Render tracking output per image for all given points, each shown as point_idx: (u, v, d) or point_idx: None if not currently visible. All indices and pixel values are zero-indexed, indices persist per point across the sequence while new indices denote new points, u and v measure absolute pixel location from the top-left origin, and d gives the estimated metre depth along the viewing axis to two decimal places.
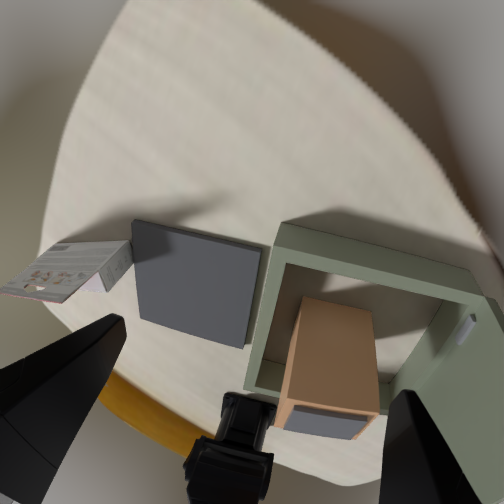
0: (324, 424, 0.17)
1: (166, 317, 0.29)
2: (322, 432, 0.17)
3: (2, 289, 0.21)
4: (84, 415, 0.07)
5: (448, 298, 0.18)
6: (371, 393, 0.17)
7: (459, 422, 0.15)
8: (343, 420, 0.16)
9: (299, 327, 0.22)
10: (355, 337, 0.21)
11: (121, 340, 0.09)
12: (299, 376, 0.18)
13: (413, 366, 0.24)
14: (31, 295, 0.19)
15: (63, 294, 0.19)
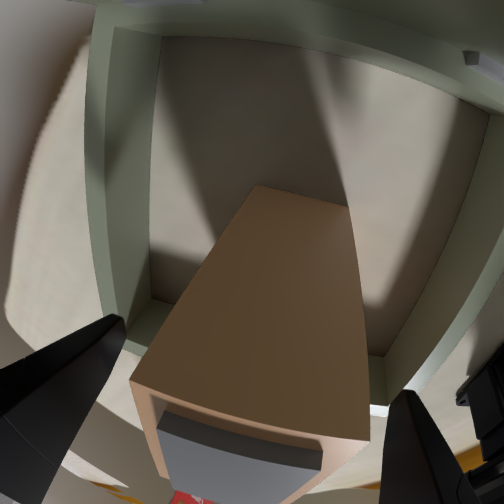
0: (211, 483, 0.06)
1: None
2: (261, 493, 0.05)
3: None
4: (84, 415, 0.07)
5: (103, 84, 0.08)
6: None
7: None
8: (172, 459, 0.05)
9: None
10: None
11: (121, 340, 0.09)
12: None
13: (392, 64, 0.08)
14: None
15: None
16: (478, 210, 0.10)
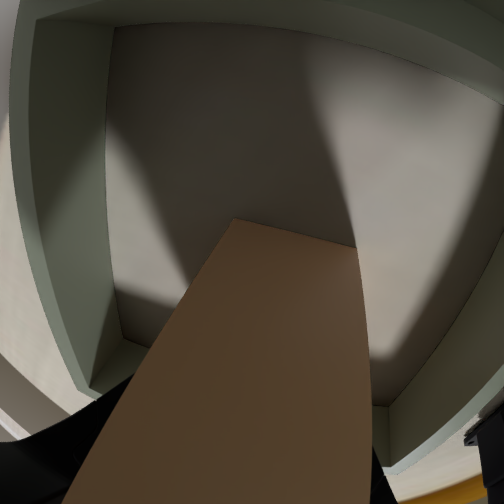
0: None
1: None
2: None
3: None
4: None
5: (25, 97, 0.05)
6: None
7: None
8: None
9: None
10: None
11: None
12: None
13: (426, 54, 0.05)
14: None
15: None
16: None
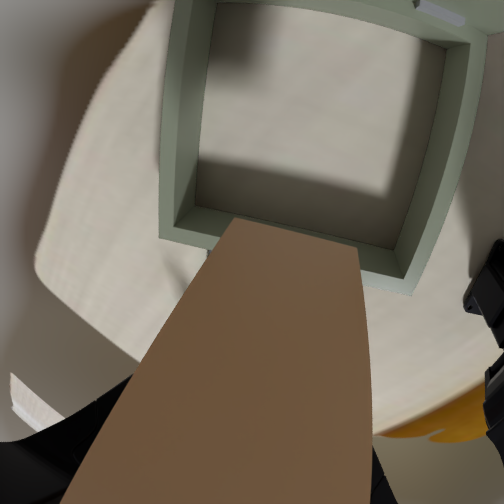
0: None
1: None
2: None
3: None
4: None
5: (186, 21, 0.12)
6: None
7: None
8: None
9: None
10: None
11: None
12: None
13: (372, 15, 0.11)
14: None
15: None
16: (445, 108, 0.13)
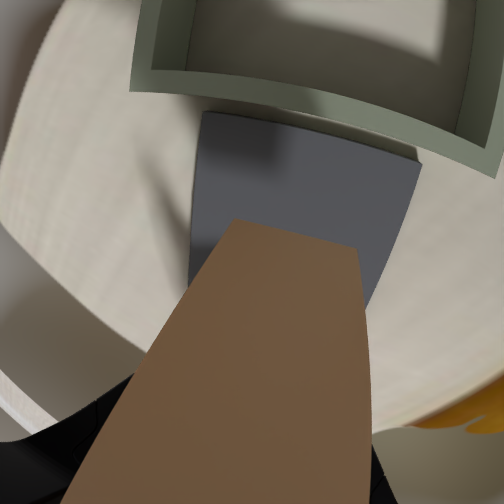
0: None
1: None
2: None
3: None
4: None
5: None
6: None
7: None
8: None
9: None
10: None
11: None
12: None
13: None
14: None
15: None
16: None
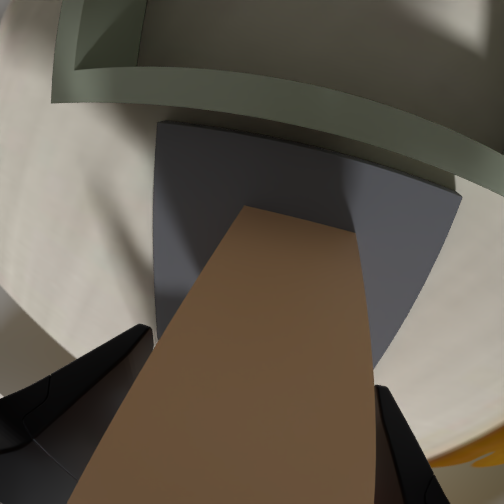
0: None
1: None
2: None
3: None
4: None
5: None
6: None
7: None
8: None
9: None
10: None
11: (148, 351, 0.09)
12: None
13: None
14: None
15: None
16: None
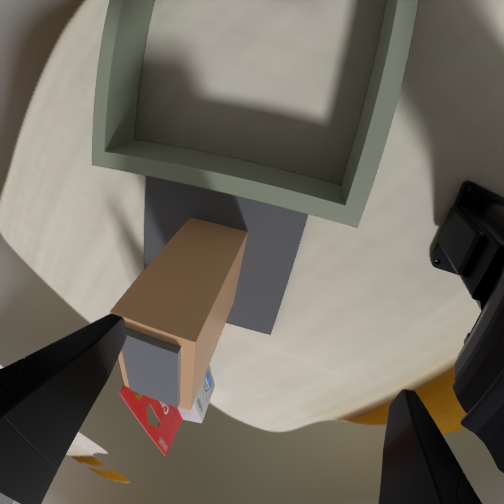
0: (144, 373, 0.13)
1: (262, 303, 0.23)
2: (165, 379, 0.13)
3: (163, 448, 0.23)
4: (84, 415, 0.07)
5: None
6: None
7: None
8: (126, 355, 0.13)
9: None
10: None
11: (121, 340, 0.09)
12: None
13: None
14: None
15: (127, 387, 0.19)
16: (385, 26, 0.12)
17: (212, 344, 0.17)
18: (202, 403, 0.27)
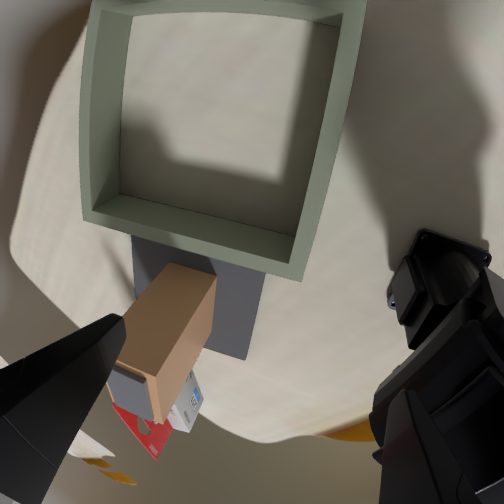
0: (123, 394, 0.16)
1: (235, 334, 0.26)
2: (139, 400, 0.16)
3: (153, 452, 0.26)
4: (84, 415, 0.07)
5: (94, 39, 0.14)
6: None
7: None
8: (109, 380, 0.16)
9: None
10: None
11: (121, 340, 0.09)
12: None
13: (249, 7, 0.13)
14: None
15: None
16: None
17: (183, 372, 0.20)
18: (189, 415, 0.30)
